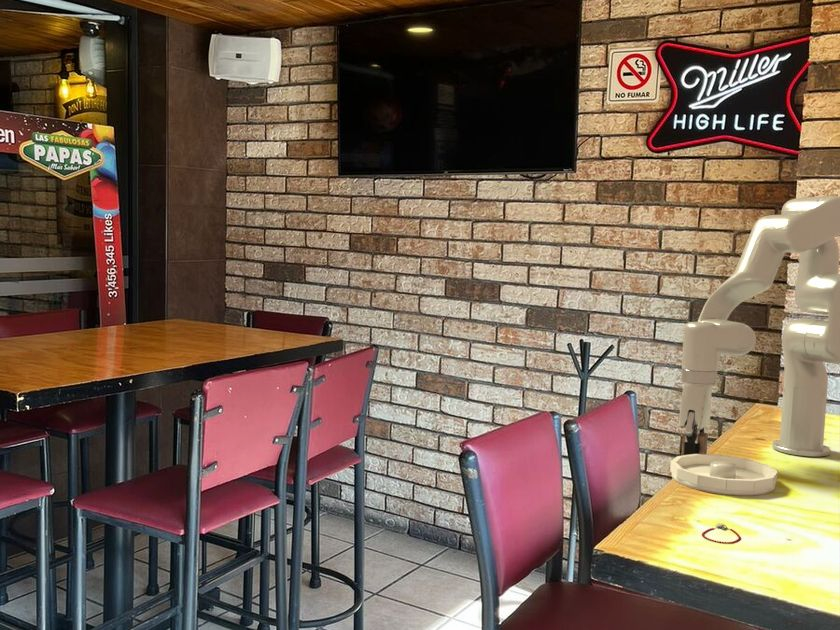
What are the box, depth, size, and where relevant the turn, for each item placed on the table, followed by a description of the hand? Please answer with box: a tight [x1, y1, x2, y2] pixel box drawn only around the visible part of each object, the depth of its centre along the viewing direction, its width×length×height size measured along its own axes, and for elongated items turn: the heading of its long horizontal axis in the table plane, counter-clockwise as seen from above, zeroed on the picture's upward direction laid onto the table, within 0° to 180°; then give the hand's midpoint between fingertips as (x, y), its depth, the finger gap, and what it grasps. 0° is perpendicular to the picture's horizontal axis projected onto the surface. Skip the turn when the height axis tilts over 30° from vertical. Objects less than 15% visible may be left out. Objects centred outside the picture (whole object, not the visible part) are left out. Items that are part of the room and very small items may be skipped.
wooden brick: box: [681, 431, 709, 456], centre depth 189 cm, size 4×4×6 cm
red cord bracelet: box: [701, 522, 742, 545], centre depth 140 cm, size 9×6×1 cm
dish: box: [669, 453, 779, 497], centre depth 172 cm, size 20×20×4 cm
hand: (694, 456), depth 189 cm, fingers closed on wooden brick, 4 cm apart
